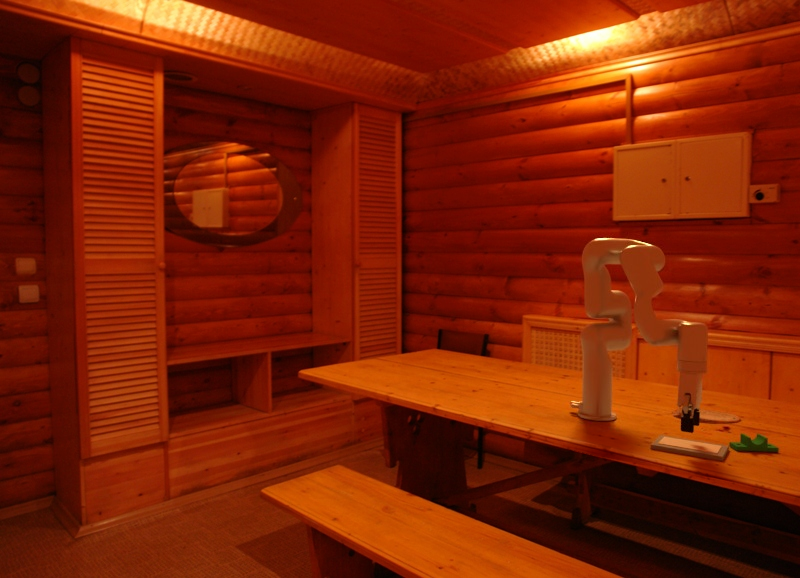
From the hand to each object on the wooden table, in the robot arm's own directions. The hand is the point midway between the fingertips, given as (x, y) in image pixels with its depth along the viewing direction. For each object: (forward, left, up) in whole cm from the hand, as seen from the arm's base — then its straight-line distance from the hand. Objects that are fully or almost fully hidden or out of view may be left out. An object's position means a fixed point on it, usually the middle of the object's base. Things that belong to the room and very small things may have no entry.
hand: (690, 428), depth 169 cm
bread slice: (-2, +38, -7) cm, 39 cm away
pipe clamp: (+11, +13, -3) cm, 18 cm away
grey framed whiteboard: (0, 0, -6) cm, 6 cm away
